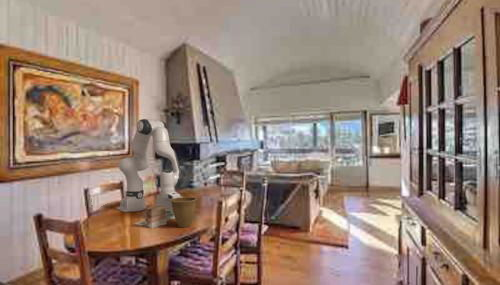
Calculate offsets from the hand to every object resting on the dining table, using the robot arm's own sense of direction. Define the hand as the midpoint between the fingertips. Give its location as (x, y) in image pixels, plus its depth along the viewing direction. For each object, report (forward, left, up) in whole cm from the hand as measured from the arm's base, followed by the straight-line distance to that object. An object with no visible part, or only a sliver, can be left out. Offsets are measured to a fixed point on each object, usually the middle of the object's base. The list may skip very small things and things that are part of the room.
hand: (168, 215), depth 208 cm
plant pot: (+21, -6, -2) cm, 22 cm away
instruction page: (-5, -15, -2) cm, 16 cm away
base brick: (+6, -14, -2) cm, 16 cm away
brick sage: (0, 0, -2) cm, 2 cm away
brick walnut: (+6, -14, +4) cm, 16 cm away
